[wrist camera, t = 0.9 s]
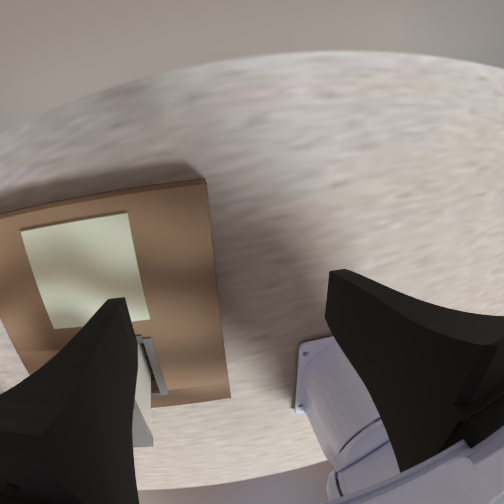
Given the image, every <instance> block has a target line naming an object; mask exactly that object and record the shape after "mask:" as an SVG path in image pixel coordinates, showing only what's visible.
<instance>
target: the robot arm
mask: <svg viewBox="0 0 504 504" xmlns="http://www.w3.org/2000/svg"><path fill="white" fill-rule="evenodd" d="M325 319H326V321H327V324H328V326H329V328H330V330H331V332H332V334H333V336H331V337H327V338H322V339H318V340H313V341H309V342H305V343H302V344H301V345H300V346H299V355H298V370H297V384H296V398H295V413H296V414H303V413H306V415H307V417H308V419H309V421H310V424H311V426H312V428H313V430H314V432H315V435H316V437H317V439H318V441H319V444H320V446H321V448H322V450H323V452H324V454H325V456H326V458H327V459H328V460H329V461H330V462H331V463H333V465H334V467H335V470H334V471H332V472H331V473H330V474H329V476H328V482H327V495H328V498H329V501H327V502H323V503H320V504H493V503H494V502H495V501H496V500H497V499H498V498H500V497H501V496H502V495H503V494H504V316H490V315H482V314H474V313H468V312H463V311H458V310H453V309H449V308H445V307H441V306H437V305H434V304H431V303H428V302H424V301H421V300H419V299H416V298H413V297H411V296H408V295H406V294H403V293H400V292H398V291H396V290H393V289H391V288H389V287H387V286H384V285H382V284H380V283H378V282H375V281H373V280H371V279H369V278H366V277H364V276H362V275H360V274H357V273H355V272H352V271H349V270H346V269H341V270H334V271H330V272H329V283H328V293H327V302H326V311H325ZM304 352H306V353H304ZM137 373H138V343H137V339H136V336H135V332H134V329H133V325H132V322H131V318H130V314H129V311H128V307H127V303H126V299H125V297H121V298H111V299H108V300H107V301H106V302H105V303H104V304H103V305H102V306H101V307H100V308H99V309H98V310H97V312H96V313H95V314H94V315H93V316H92V317H91V318H90V320H89V321H88V322H87V323H86V324H85V325H84V326H83V327H82V329H81V330H80V331H79V332H78V333H77V334H76V335H75V336H74V337H73V338H72V339H71V340H70V341H69V342H68V343H67V344H66V345H65V346H64V347H63V348H62V349H61V350H60V351H59V352H58V353H57V354H56V355H55V356H54V357H53V358H51V359H50V360H49V361H48V362H47V363H46V364H44V365H43V366H42V367H41V368H40V369H38V370H37V371H35V372H34V373H33V374H31V375H30V376H29V377H27V378H26V379H24V380H23V381H22V382H20V383H19V384H17V385H16V386H14V387H12V388H11V389H9V390H8V391H6V392H4V393H2V394H1V395H0V504H139V499H138V492H137V485H136V477H135V467H134V456H133V439H132V423H133V411H134V401H135V391H136V382H137Z"/></svg>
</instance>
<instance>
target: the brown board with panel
mask: <svg viewBox="0 0 504 504" xmlns="http://www.w3.org/2000/svg"><path fill="white" fill-rule="evenodd" d="M121 297H125V299H126V303H127V307H128V311H129V314H130V318H131V322H132V325H133V329H134V332H135V336H136V339H137V343H144V346H145V349H146V352H147V355H148V358H149V361H150V364H151V368H152V370H153V373H154V376H155V378H151V408H155V407H165V406H174V405H183V404H191V403H199V402H206V401H213V400H219V399H226V398H231V394H230V386H229V379H228V372H227V365H226V357H225V350H224V342H223V334H222V326H221V318H220V309H219V301H218V292H217V283H216V274H215V265H214V255H213V245H212V235H211V225H210V214H209V203H208V192H207V183H206V181H205V179H197V180H188V181H180V182H172V183H164V184H157V185H150V186H143V187H136V188H130V189H123V190H117V191H111V192H105V193H99V194H93V195H88V196H82V197H77V198H71V199H66V200H61V201H56V202H51V203H46V204H42V205H37V206H32V207H28V208H23V209H19V210H15V211H10V212H6V213H2V214H0V318H1V320H2V323H3V325H4V327H5V329H6V331H7V333H8V335H9V337H10V339H11V341H12V343H13V345H14V347H15V349H16V351H17V353H18V355H19V357H20V358H21V360H22V362H23V364H24V366H25V367H26V369H27V371H28V373H29V374H30V375H31V374H33V373H34V372H35V371H37V370H38V369H40V368H41V367H42V366H43V365H44V364H46V363H47V362H48V361H49V360H50V359H51V358H53V357H54V356H55V355H56V354H57V353H58V352H59V351H60V350H61V349H62V348H63V347H64V346H65V345H66V344H67V343H68V342H69V341H70V340H71V339H72V338H73V337H74V336H75V335H76V334H77V333H78V332H79V331H80V330H81V329H82V327H83V326H84V325H85V324H86V323H87V322H88V321H89V320H90V318H91V317H92V316H93V315H94V314H95V313H96V312H97V310H98V309H99V308H100V307H101V306H102V305H103V304H104V303H105V302H106V301H107V300H108V299H111V298H121Z"/></svg>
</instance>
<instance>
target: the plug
mask: <svg viewBox="0 0 504 504" xmlns="http://www.w3.org/2000/svg"><path fill="white" fill-rule="evenodd" d="M132 439H133V447H149V446H153V436H152V434H151V372H150V369H149V366H148V363H147V360H146V357H145V354H144V351H143V348H142V344H141V343H138V373H137V382H136V391H135V401H134V411H133V423H132Z"/></svg>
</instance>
